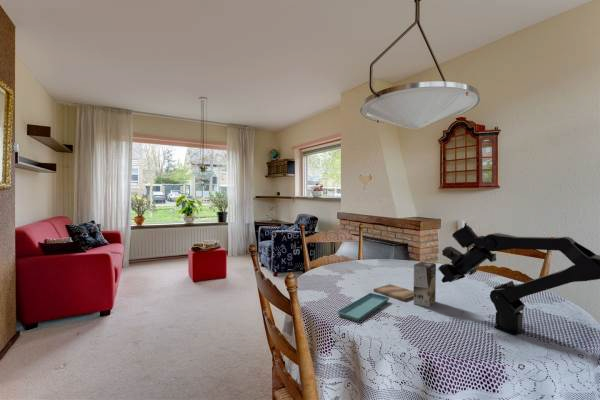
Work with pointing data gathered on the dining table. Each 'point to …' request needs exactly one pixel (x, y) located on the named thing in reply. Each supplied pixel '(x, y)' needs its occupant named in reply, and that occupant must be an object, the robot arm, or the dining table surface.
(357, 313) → the rectangular tray
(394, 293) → the walnut board
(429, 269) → the coffee box
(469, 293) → the dining table surface
